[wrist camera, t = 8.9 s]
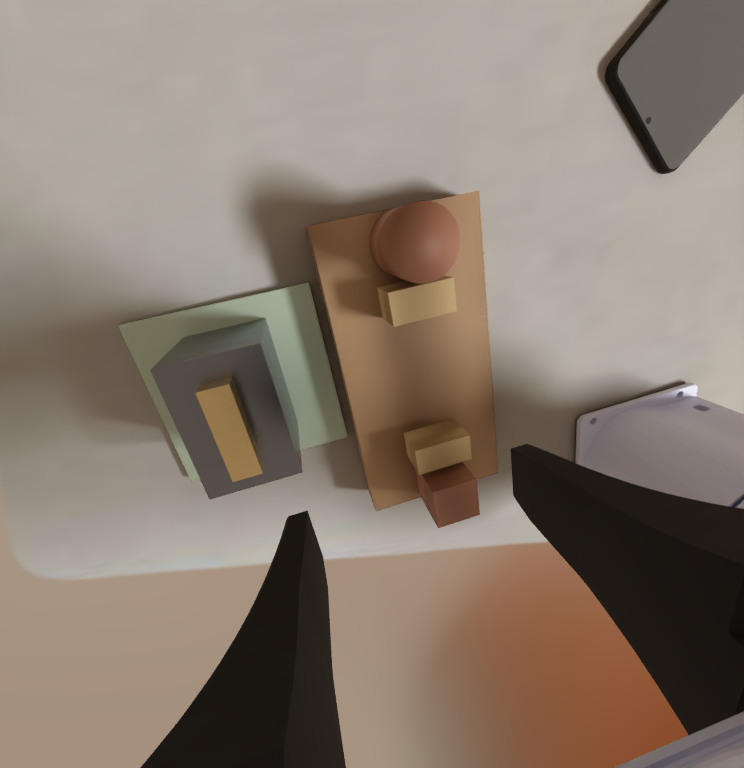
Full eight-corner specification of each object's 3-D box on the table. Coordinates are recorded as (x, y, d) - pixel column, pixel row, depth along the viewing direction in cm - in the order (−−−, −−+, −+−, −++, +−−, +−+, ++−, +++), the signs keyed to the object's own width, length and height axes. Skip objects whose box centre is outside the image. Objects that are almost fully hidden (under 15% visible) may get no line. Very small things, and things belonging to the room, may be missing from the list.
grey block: (265, 317, 19) (259, 348, 13) (297, 421, 21) (303, 483, 16) (183, 337, 18) (142, 377, 13) (225, 441, 20) (206, 512, 15)
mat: (308, 282, 19) (308, 283, 18) (346, 433, 22) (347, 437, 22) (121, 324, 18) (117, 326, 17) (192, 477, 21) (191, 481, 21)
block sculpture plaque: (460, 195, 19) (516, 181, 14) (482, 455, 25) (526, 503, 21) (305, 227, 18) (313, 222, 13) (368, 490, 24) (389, 548, 20)
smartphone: (892, -73, 19) (671, 178, 21) (866, -60, 19) (655, 180, 21) (861, -239, 16) (609, 67, 18) (833, -216, 17) (595, 75, 19)
